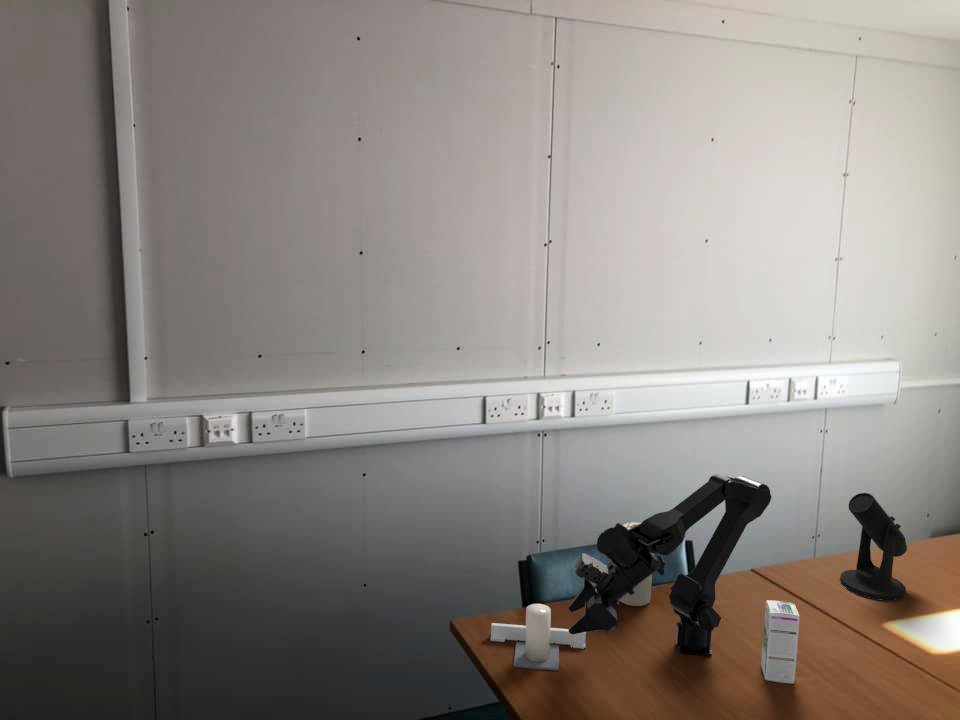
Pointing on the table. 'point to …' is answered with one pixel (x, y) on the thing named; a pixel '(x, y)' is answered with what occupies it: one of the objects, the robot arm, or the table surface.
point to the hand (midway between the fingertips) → (569, 620)
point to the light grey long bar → (519, 633)
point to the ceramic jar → (537, 632)
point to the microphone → (885, 536)
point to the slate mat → (524, 662)
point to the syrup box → (780, 641)
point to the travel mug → (642, 589)
